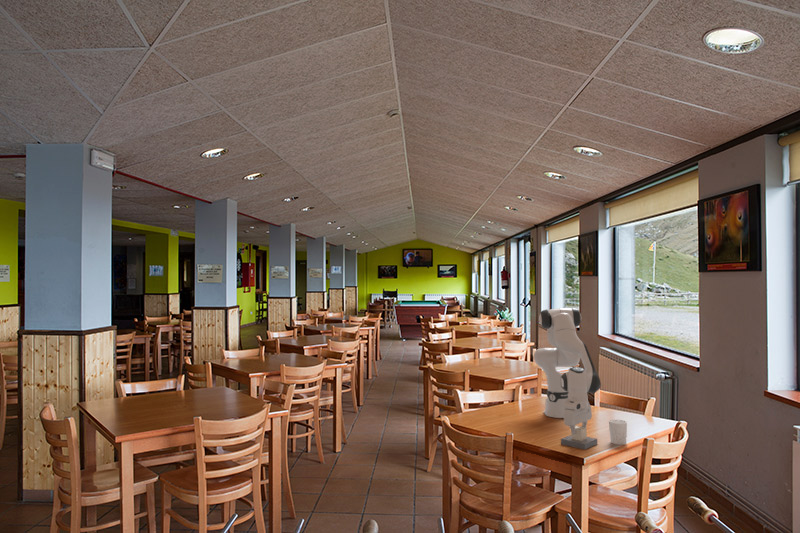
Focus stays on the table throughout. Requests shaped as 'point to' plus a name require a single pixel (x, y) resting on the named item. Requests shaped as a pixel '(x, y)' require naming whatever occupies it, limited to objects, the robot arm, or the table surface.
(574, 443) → the base
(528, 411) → the table surface
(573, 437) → the cube
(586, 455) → the table surface
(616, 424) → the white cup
